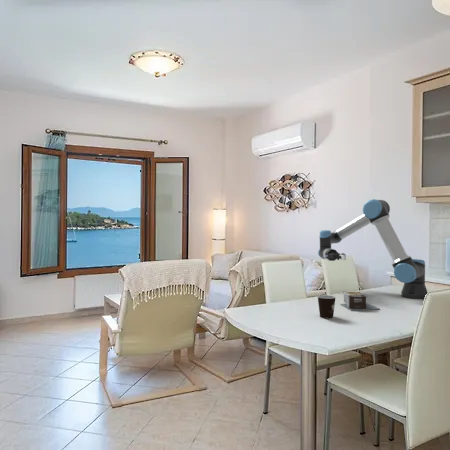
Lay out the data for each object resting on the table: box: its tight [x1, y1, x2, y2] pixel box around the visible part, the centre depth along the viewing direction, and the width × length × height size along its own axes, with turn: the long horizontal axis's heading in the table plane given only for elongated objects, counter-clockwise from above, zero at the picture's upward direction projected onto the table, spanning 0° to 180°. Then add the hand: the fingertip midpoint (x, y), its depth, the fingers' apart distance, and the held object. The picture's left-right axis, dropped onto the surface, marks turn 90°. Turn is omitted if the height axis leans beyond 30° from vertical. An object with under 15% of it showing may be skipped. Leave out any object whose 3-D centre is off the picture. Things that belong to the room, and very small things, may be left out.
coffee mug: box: [317, 294, 337, 319], centre depth 209 cm, size 12×9×10 cm
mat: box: [340, 302, 381, 312], centre depth 230 cm, size 16×14×1 cm
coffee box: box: [343, 291, 367, 309], centre depth 232 cm, size 9×6×16 cm
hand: (344, 257), depth 251 cm, fingers closed
